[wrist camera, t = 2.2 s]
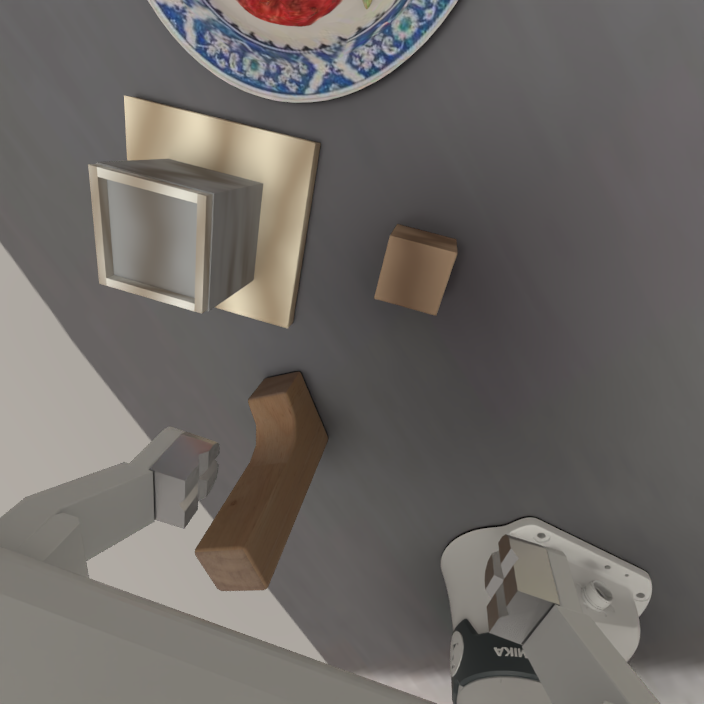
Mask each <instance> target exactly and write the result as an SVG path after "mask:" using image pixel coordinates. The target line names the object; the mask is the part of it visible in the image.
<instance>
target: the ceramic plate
mask: <svg viewBox="0 0 704 704" xmlns="http://www.w3.org/2000/svg"><path fill="white" fill-rule="evenodd" d="M457 1H458V0H148V2H149V3H150V5H151V6H152V8H153V9H154V11H155V12H156V14H157V15H158V17H159V19H160V20H161V21H162V23H163V24H164V25H165V27H166V28H167V29H168V30H169V32H170V33H171V34H172V36H173V37H174V38H175V39H176V40H177V41H178V42H179V43H180V44H181V46H182V47H183V48H184V49H185V50H186V51H187V52H188V53H189V54H190V55H191V56H192V57H193V58H195V59H196V60H197V61H198V62H199V63H200V64H201V65H203V66H204V67H205V68H207V69H208V70H209V71H211V72H212V73H213V74H215V75H216V76H217V77H219V78H221V79H222V80H224V81H225V82H227V83H229V84H231V85H233V86H235V87H237V88H239V89H241V90H243V91H245V92H248V93H251V94H254V95H257V96H260V97H263V98H267V99H271V100H275V101H283V102H292V103H300V102H316V101H325V100H330V99H334V98H338V97H342V96H345V95H348V94H350V93H353V92H356V91H358V90H361V89H363V88H365V87H367V86H369V85H371V84H372V83H374V82H376V81H378V80H380V79H381V78H383V77H384V76H386V75H387V74H389V73H390V72H392V71H393V70H395V69H396V68H397V67H398V66H400V65H401V64H402V63H404V62H405V61H406V60H407V59H409V58H410V57H411V56H412V55H413V54H414V53H415V52H416V51H417V50H418V49H419V48H420V47H421V46H422V45H423V44H424V43H425V42H426V41H427V40H428V39H429V38H430V36H431V35H432V34H433V33H434V32H435V31H436V30H437V28H438V27H439V26H440V25H441V24H442V22H443V21H444V20H445V18H446V17H447V15H448V14H449V13H450V11H451V10H452V9H453V7H454V6H455V4H456V3H457Z"/></svg>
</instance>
